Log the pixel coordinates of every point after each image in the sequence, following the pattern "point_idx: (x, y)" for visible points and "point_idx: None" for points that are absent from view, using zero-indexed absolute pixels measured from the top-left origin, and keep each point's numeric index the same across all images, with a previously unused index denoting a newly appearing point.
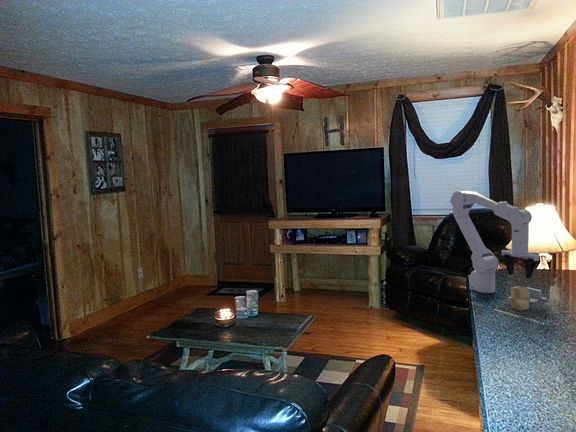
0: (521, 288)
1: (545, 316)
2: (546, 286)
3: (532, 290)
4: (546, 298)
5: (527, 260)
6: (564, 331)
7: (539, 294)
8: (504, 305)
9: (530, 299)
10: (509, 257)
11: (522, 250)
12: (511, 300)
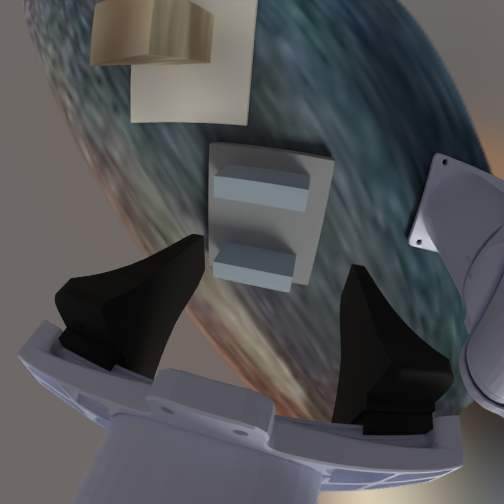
0: (106, 21)
1: (107, 76)
2: (312, 392)
3: (249, 265)
4: (209, 261)
5: (85, 320)
6: (40, 30)
7: (219, 254)
8: (291, 63)
9: (237, 202)
10: (365, 403)
11: (94, 458)
12: (195, 5)
